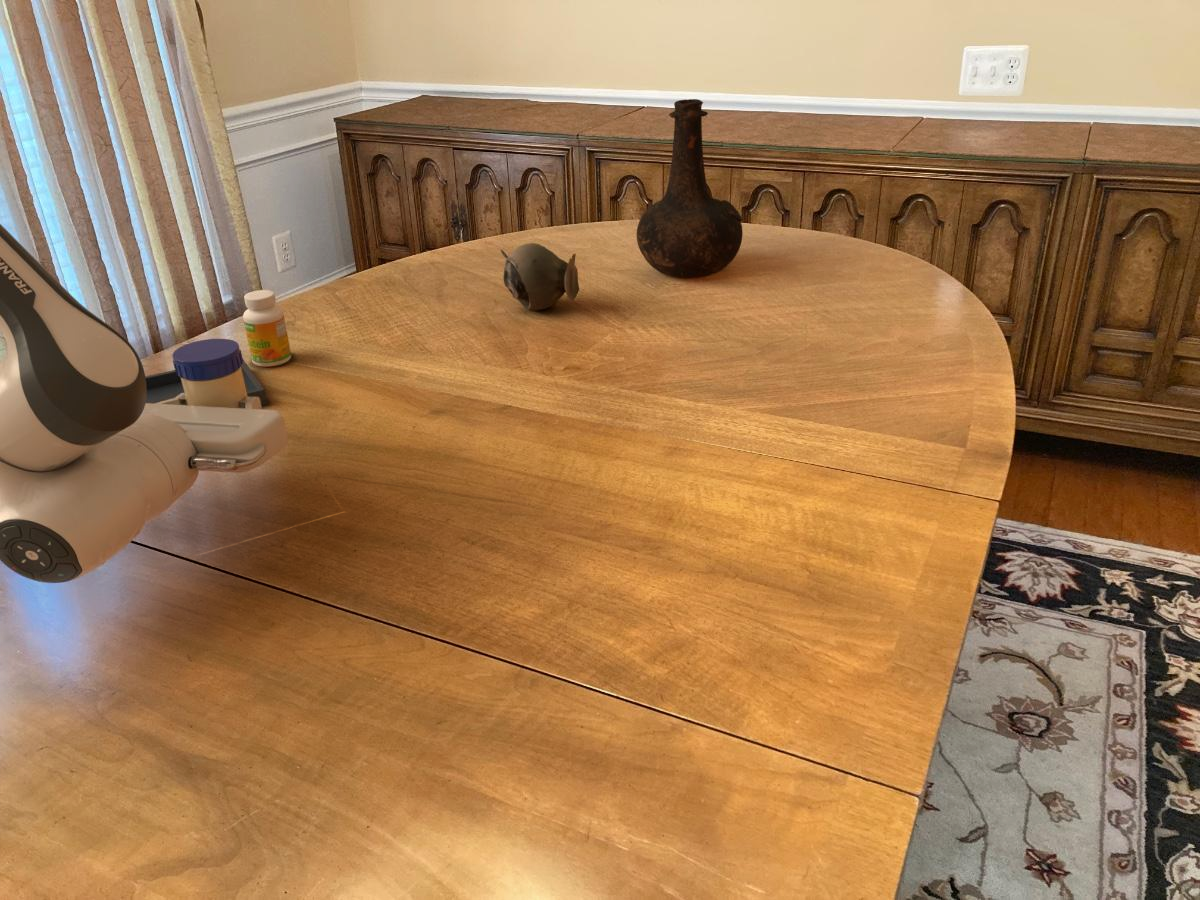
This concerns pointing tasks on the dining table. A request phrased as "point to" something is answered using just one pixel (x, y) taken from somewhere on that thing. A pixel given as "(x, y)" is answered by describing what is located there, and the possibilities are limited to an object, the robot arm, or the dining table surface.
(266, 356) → the supplement bottle
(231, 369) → the lid
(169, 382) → the tray
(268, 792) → the dining table surface
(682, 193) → the glass bottle
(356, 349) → the dining table surface
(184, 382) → the jar
